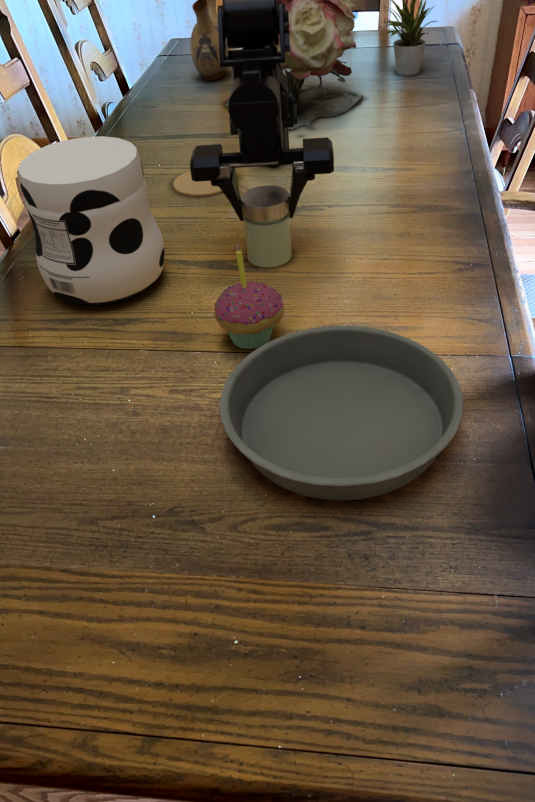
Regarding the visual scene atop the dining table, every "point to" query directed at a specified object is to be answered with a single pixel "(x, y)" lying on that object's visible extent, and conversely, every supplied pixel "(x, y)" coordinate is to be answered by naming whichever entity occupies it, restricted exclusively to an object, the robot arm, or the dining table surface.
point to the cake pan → (341, 411)
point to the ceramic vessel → (206, 40)
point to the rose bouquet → (318, 55)
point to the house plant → (408, 38)
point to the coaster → (194, 186)
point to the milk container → (92, 219)
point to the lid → (265, 203)
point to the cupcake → (248, 310)
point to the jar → (268, 241)
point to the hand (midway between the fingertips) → (266, 218)
